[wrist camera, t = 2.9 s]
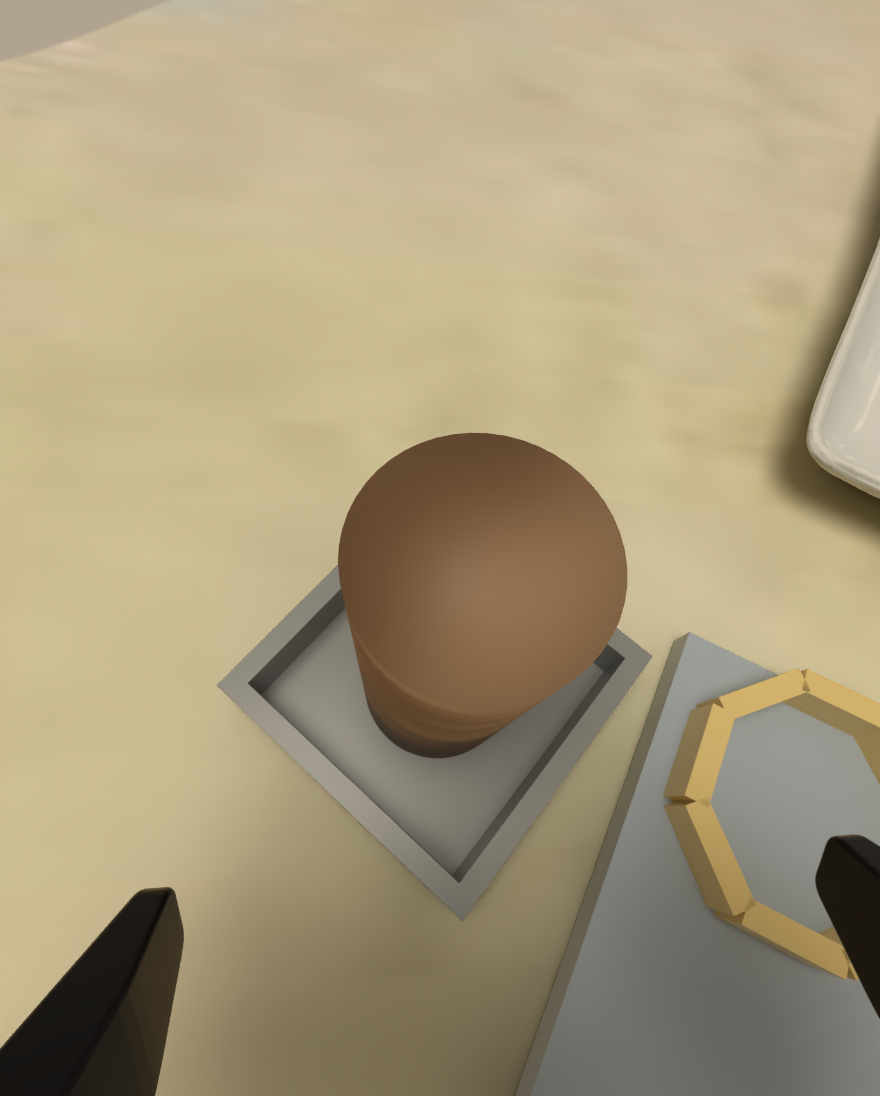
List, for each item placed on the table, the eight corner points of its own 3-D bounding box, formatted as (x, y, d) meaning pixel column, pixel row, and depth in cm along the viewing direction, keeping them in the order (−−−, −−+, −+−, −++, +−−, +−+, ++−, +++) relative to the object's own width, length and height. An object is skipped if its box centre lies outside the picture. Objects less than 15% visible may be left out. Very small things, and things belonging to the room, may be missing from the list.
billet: (536, 676, 20) (681, 547, 10) (445, 791, 19) (509, 774, 9) (429, 586, 21) (465, 387, 11) (334, 689, 20) (275, 567, 10)
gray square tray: (624, 672, 21) (652, 656, 19) (453, 907, 18) (462, 921, 16) (422, 509, 23) (425, 476, 21) (236, 699, 20) (216, 685, 18)
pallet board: (757, 1796, 13) (848, 2041, 10) (363, 1526, 14) (357, 1687, 11) (928, 763, 21) (1001, 758, 18) (674, 641, 22) (710, 619, 19)
